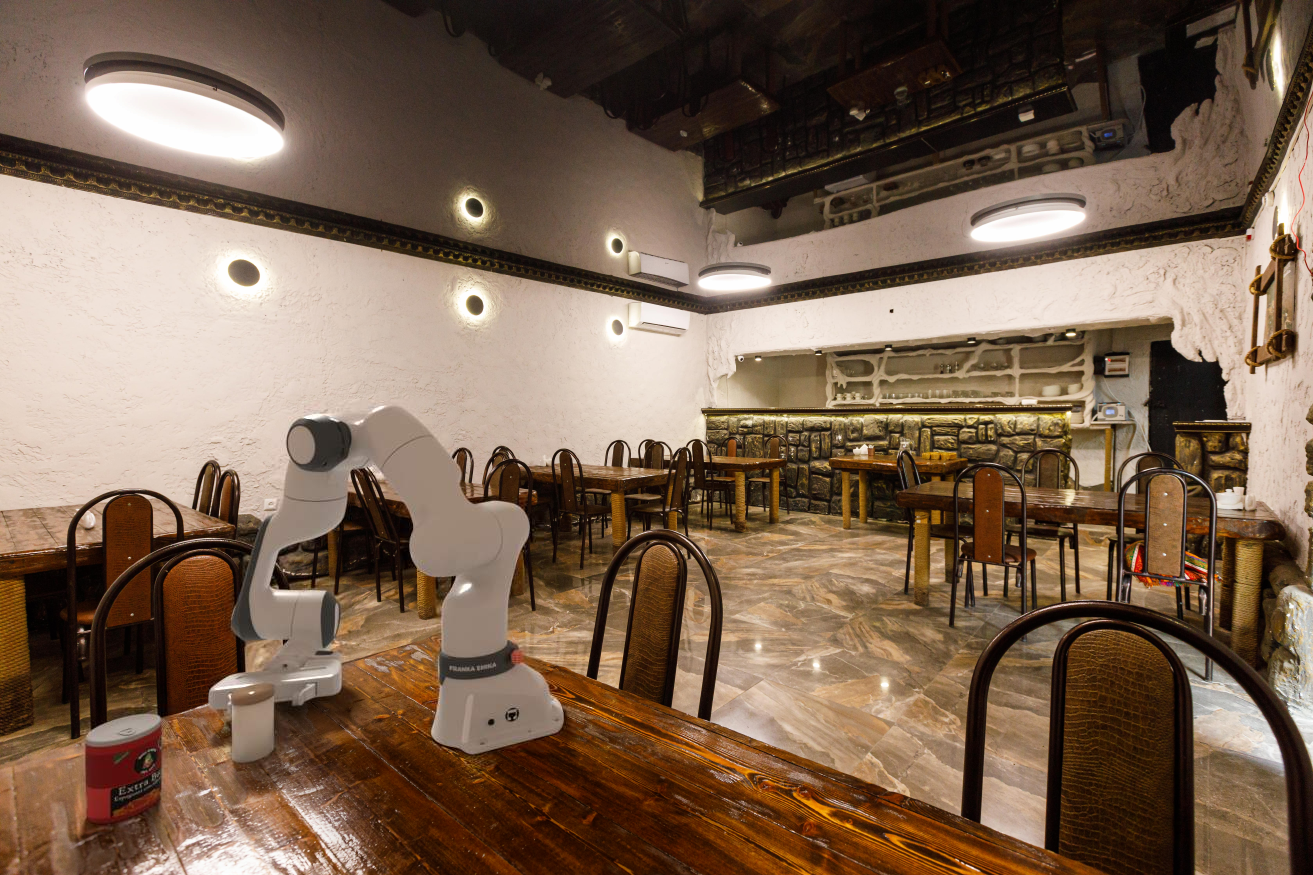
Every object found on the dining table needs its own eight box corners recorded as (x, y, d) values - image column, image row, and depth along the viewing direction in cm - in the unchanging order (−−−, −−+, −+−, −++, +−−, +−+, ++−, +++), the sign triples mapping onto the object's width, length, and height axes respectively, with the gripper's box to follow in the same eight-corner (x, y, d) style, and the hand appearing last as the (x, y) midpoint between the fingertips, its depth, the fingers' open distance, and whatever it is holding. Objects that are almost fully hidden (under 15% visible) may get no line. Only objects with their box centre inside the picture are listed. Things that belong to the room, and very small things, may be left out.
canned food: (116, 829, 74) (116, 744, 74) (68, 820, 75) (68, 738, 75) (176, 792, 81) (176, 716, 81) (132, 785, 83) (132, 710, 83)
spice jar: (279, 740, 95) (279, 680, 95) (268, 759, 90) (267, 696, 90) (239, 746, 94) (239, 685, 93) (224, 765, 88) (224, 701, 88)
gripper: (226, 662, 106) (191, 695, 93) (348, 650, 113) (331, 678, 99) (226, 696, 106) (191, 733, 93) (348, 681, 113) (331, 714, 99)
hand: (264, 705), depth 96 cm, fingers open, 8 cm apart
